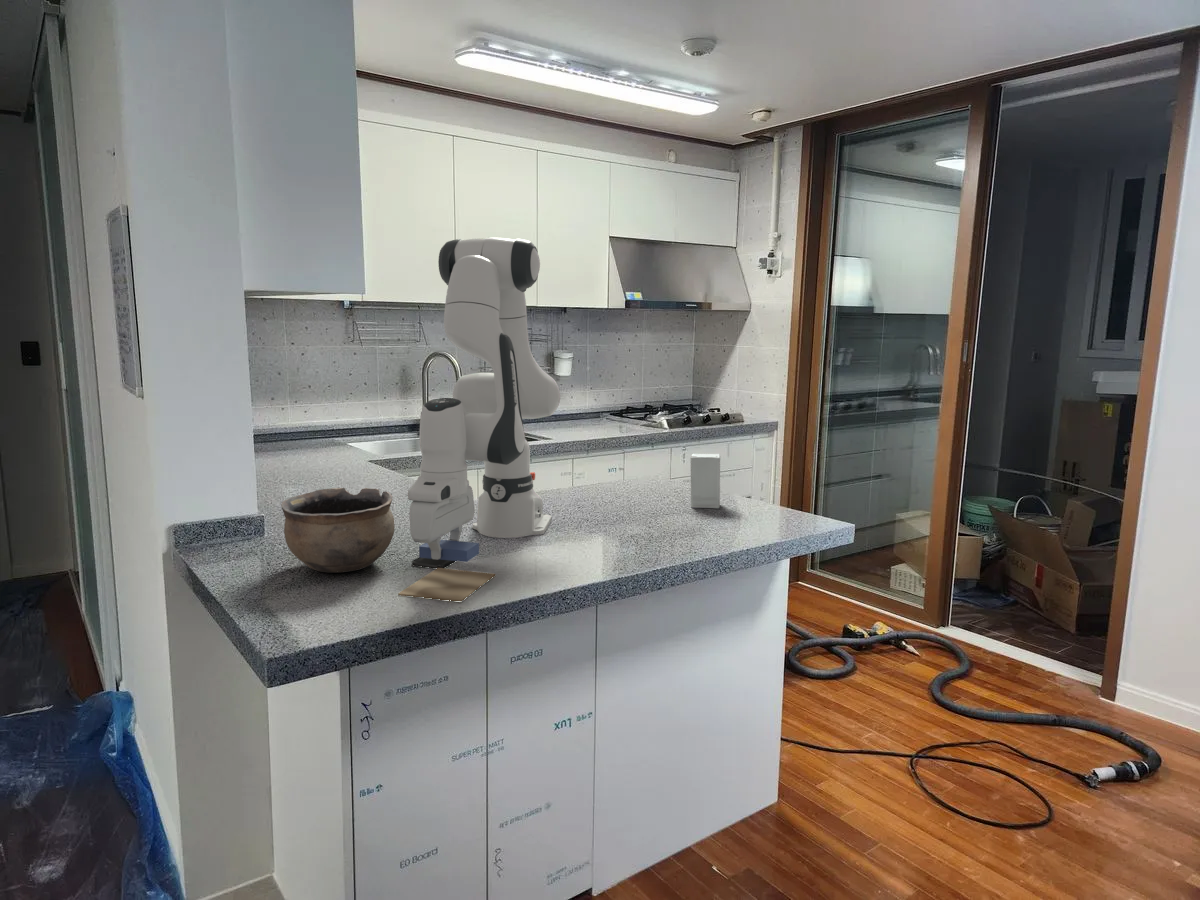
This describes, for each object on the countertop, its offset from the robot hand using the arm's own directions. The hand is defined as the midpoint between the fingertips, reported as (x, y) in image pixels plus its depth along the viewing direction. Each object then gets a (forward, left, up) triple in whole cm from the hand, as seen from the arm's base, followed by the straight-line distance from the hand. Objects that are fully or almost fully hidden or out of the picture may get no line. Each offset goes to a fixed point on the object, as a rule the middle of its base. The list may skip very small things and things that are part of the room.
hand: (445, 553), depth 149 cm
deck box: (0, +6, +1) cm, 6 cm away
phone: (-16, -9, -7) cm, 20 cm away
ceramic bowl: (-3, -26, -7) cm, 27 cm away
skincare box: (-81, +39, -7) cm, 91 cm away
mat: (0, 0, -7) cm, 7 cm away
